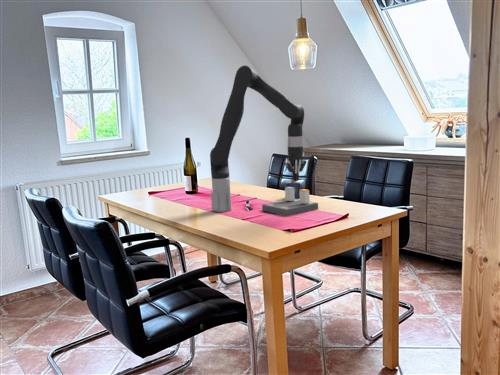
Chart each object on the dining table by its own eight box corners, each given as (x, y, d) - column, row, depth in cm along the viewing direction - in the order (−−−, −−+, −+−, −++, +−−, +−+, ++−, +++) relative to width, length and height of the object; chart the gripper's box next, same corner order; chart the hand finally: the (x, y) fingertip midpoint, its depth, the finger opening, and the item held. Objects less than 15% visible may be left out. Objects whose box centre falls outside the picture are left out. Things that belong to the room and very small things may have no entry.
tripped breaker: (305, 203, 241) (304, 190, 240) (299, 202, 245) (299, 189, 244) (309, 202, 243) (309, 189, 242) (304, 201, 246) (303, 189, 245)
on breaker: (290, 200, 250) (289, 188, 249) (285, 200, 253) (284, 187, 252) (294, 200, 252) (294, 187, 251) (289, 199, 255) (289, 186, 254)
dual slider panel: (287, 215, 232) (286, 209, 232) (262, 210, 247) (262, 204, 247) (318, 208, 245) (318, 202, 244) (292, 203, 260) (292, 198, 259)
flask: (284, 198, 277) (284, 179, 275) (286, 197, 280) (285, 178, 278) (299, 198, 273) (299, 180, 271) (301, 197, 276) (301, 179, 274)
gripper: (290, 146, 229) (290, 183, 232) (310, 145, 237) (310, 180, 239) (279, 146, 235) (280, 181, 238) (300, 144, 243) (300, 178, 245)
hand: (295, 180), depth 238 cm, fingers closed
